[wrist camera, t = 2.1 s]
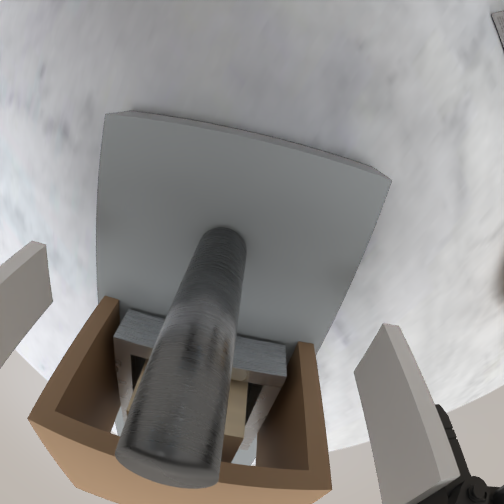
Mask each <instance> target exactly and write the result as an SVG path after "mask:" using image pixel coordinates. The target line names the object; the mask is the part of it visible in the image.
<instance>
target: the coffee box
mask: <svg viewBox="0 0 504 504" xmlns="http://www.w3.org/2000/svg"><path fill="white" fill-rule="evenodd" d="M492 17H493V20H494V22H495V25H496V28H497V30H498V33H499V36H500V38H501V41H502V44H503V47H504V11H501V12H496V13H492Z"/></svg>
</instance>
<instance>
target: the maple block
mask: <svg viewBox="0 0 504 504" xmlns="http://www.w3.org/2000/svg"><path fill="white" fill-rule="evenodd" d="M148 360H149V359H146V361H145V363H144V366H143V368H142V371H141V374H140V376H139V379H138V381H137V384H136V386H135V389H134V391H133V394H132V397H131V399H130V402H129V405H128V407H127V410H126V411H127V416H128V413H129V411H130V408H131V405H132V402H133V400H134V397H135V394H136V392H137V389H138V386H139V384H140V381H141V378H142V376H143V373H144V371H145V368H146V366H147V363H148ZM247 390H248V382H244V381H238V380H233V379H231V383H230V391H229V399H228V407H227V415H226V423H225V432H224V440H223V448H222V457H221V462H227V463H231V462H232V460H233V458H234V456H235V454H236V453H237V451H238V449H239V447H240V445H241V443H242V441H243V439H244V432H245V418H246V404H247Z"/></svg>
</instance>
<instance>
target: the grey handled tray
mask: <svg viewBox="0 0 504 504" xmlns="http://www.w3.org/2000/svg"><path fill="white" fill-rule="evenodd" d="M246 256H247V247H246V243H245V241H244V239H243V238H242V237H241V235H240V234H238V233H237V232H236V231H234V230H232V229H229V228H225V227H217V228H213V229H210V230H208V231H207V232H206V233H204V234H203V236H202V237H201V239H200V241H199V243H198V245H197V247H196V249H195V252H194V254H193V256H192V258H191V261H190V263H189V265H188V267H187V270H186V272H185V274H184V276H183V279H182V281H181V283H180V286H179V288H178V290H177V293H176V295H175V297H174V300H173V302H172V304H171V307H170V309H169V311H168V314H167V316H166V319H163V318H159V317H155V316H152V315H148V314H144V313H141V312H137V311H134V310H130V309H129V310H128V311H127V313H126V315H125V316H124V318H123V320H122V322H121V324H120V325H119V327H118V329H117V331H116V332H115V334H114V336H113V340H114V352H115V362H116V372H117V380H118V388H119V395H120V402H121V409H122V415H123V421H124V422H125V424H124V427H123V430H122V433H121V436H120V439H119V442H118V444H117V447H116V450H115V457H116V459H117V460H118V461H119V463H120V464H122V465H123V466H124V467H125V468H127V469H128V470H130V471H131V472H133V473H135V474H137V475H139V476H141V477H143V478H145V479H148V480H151V481H153V482H156V483H160V484H163V485H167V486H172V487H178V488H188V489H200V488H207V487H211V486H213V485H215V484H217V482H218V480H219V473H220V465H221V457H222V448H223V440H224V432H225V423H226V415H227V407H228V399H229V391H230V383H231V379H233V380H238V381H244V382H249V383H253V384H252V387H251V389H250V392H249V394H248V397H247V404H246V418H245V432H244V439H243V441H242V443H241V445H240V447H239V449H241V450H248V449H249V447H250V445H251V443H252V442H253V440H254V438H255V436H256V434H257V433H258V431H259V429H260V427H261V425H262V424H263V422H264V420H265V418H266V416H267V414H268V412H269V411H270V409H271V407H272V405H273V403H274V401H275V399H276V397H277V395H278V393H279V391H280V389H281V387H282V385H283V384H284V382H285V380H286V378H287V370H286V350H285V345H280V344H275V343H269V342H264V341H259V340H254V339H249V338H244V337H239V336H236V334H237V326H238V318H239V311H240V303H241V295H242V287H243V279H244V271H245V263H246ZM144 358H146V359H149V360H148V363H147V366H146V368H145V371H144V373H143V376H142V378H141V381H140V384H139V386H138V389H137V392H136V394H135V397H134V400H133V402H132V405H131V408H130V411H129V413H128V416H127V411H126V410H127V407H128V405H129V402H130V399H131V397H132V394H133V391H134V389H135V386H136V384H137V381H138V379H139V376H140V374H141V371H142V368H143V366H144Z"/></svg>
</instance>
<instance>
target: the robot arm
mask: <svg viewBox="0 0 504 504" xmlns="http://www.w3.org/2000/svg"><path fill="white" fill-rule="evenodd" d="M52 302H53V299H52V292H51V285H50V278H49V269H48V260H47V250H46V245H45V244H42V243H39V242H35V241H31V242H30V243H28V244H27V245H26V246H24V247H23V248H22V249H21V250H19V251H18V252H17V253H15V254H14V255H13V256H12V257H11V258H9V259H8V260H7V261H6V262H4V263H3V264H2V265H1V266H0V368H1V367H2V366H3V364H4V363H5V361H6V360H7V359H8V357H9V356H10V355H11V353H12V352H13V351H14V349H15V348H16V347H17V345H18V344H19V343H20V342H21V340H22V339H23V338H24V336H25V335H26V334H27V333H28V331H29V330H30V329H31V328H32V326H33V325H34V324H35V323H36V321H37V320H38V319H39V318H40V317H41V315H42V314H43V313H44V312H45V311H46V309H47V308H48V307H49V306H50V305H51V304H52ZM354 375H355V379H356V383H357V387H358V391H359V395H360V399H361V403H362V408H363V412H364V416H365V420H366V425H367V429H368V434H369V438H370V443H371V447H372V452H373V457H374V462H375V467H376V472H377V477H378V482H379V488H380V493H381V499H382V504H504V485H503V486H502V487H488V486H487V485H486V483H485V482H484V481H483V480H482V479H481V478H479V477H476V476H471V475H470V473H469V470H468V468H467V464H466V462H465V459H464V456H463V453H462V450H461V448H460V445H459V442H458V440H457V439H456V434H455V432H454V430H452V428H453V427H452V424H451V422H450V420H449V417H448V415H447V413H446V412H445V411H444V410H443V408H442V407H441V406H440V405H439V404H437V405H435V404H434V402H433V399H432V397H431V395H430V392H429V390H428V387H427V385H426V383H425V381H424V378H423V376H422V374H421V371H420V369H419V367H418V365H417V363H416V360H415V358H414V356H413V354H412V352H411V350H410V347H409V345H408V343H407V341H406V339H405V337H404V335H403V333H402V331H401V329H400V327H399V326H397V325H391V324H385V323H383V324H382V326H381V328H380V330H379V331H378V333H377V335H376V336H375V338H374V340H373V341H372V343H371V345H370V346H369V348H368V350H367V351H366V353H365V355H364V356H363V358H362V360H361V361H360V363H359V364H358V366H357V367H356V369H355V371H354Z"/></svg>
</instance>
